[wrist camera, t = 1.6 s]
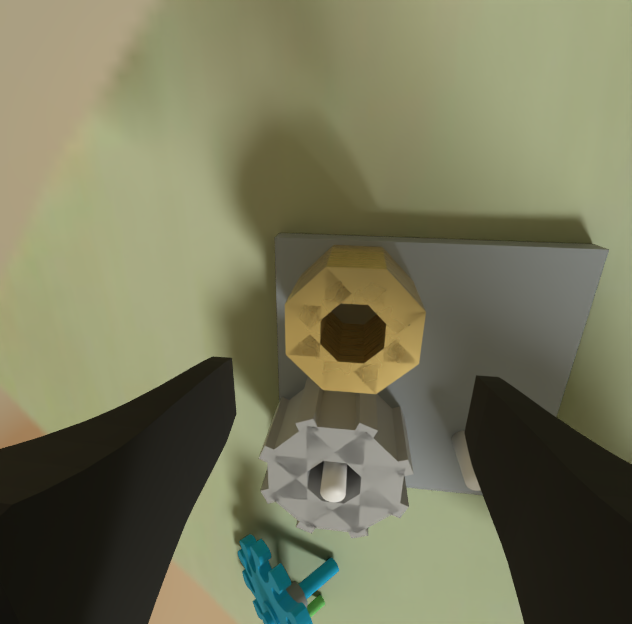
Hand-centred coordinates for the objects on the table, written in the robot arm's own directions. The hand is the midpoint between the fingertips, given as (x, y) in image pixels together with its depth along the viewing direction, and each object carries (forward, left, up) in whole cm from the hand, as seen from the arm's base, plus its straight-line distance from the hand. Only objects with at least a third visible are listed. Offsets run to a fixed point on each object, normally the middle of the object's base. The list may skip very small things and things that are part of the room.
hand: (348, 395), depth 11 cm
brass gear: (0, 0, -8) cm, 8 cm away
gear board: (-4, +5, -9) cm, 11 cm away
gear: (+4, +22, -10) cm, 24 cm away
